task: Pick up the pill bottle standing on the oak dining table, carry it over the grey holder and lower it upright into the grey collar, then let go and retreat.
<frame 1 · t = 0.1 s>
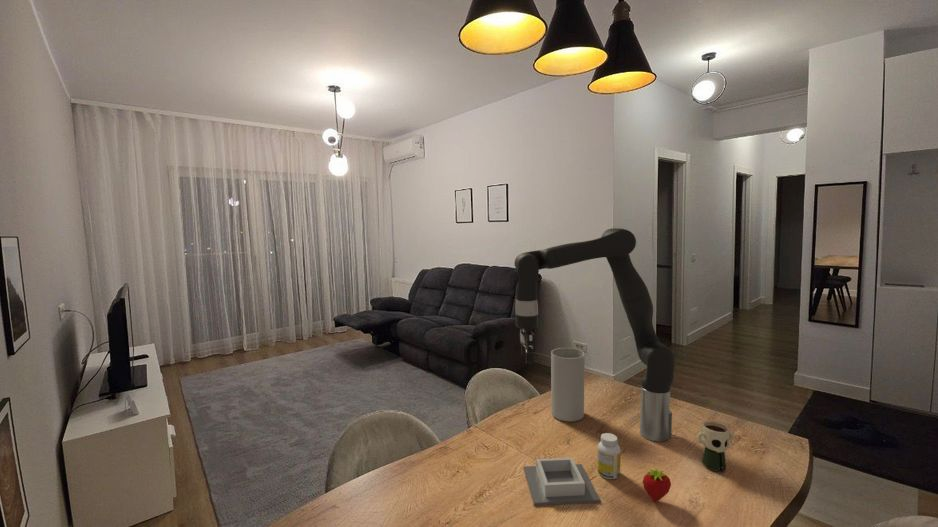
hand: (527, 359, 136), 29 cm above the table, fingers open, 8 cm apart
pill bottle: (608, 474, 120), on the table
strawberry: (656, 502, 108), on the table
character mug: (713, 467, 123), on the table
bottle holder: (559, 484, 116), on the table
cylinder vase: (567, 415, 157), on the table
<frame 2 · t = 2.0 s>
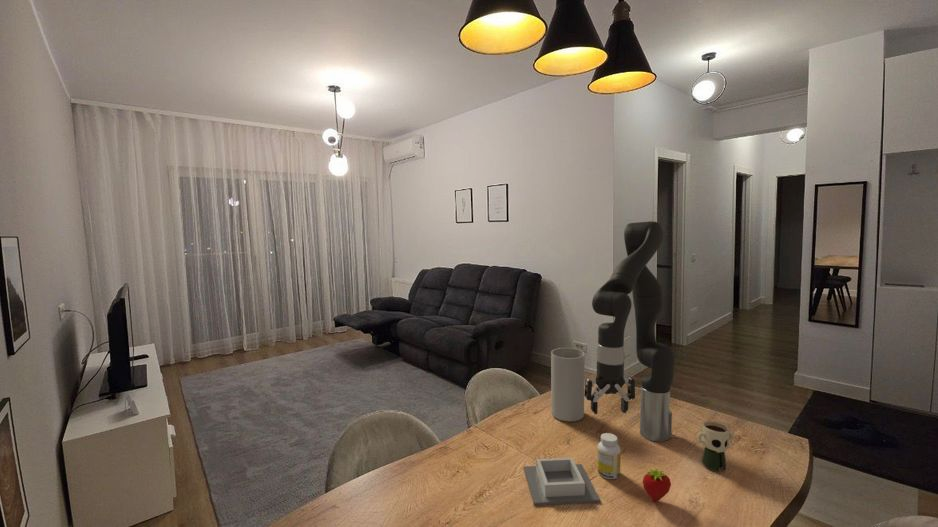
hand: (609, 412, 118), 19 cm above the table, fingers open, 8 cm apart
nothing on the table moved.
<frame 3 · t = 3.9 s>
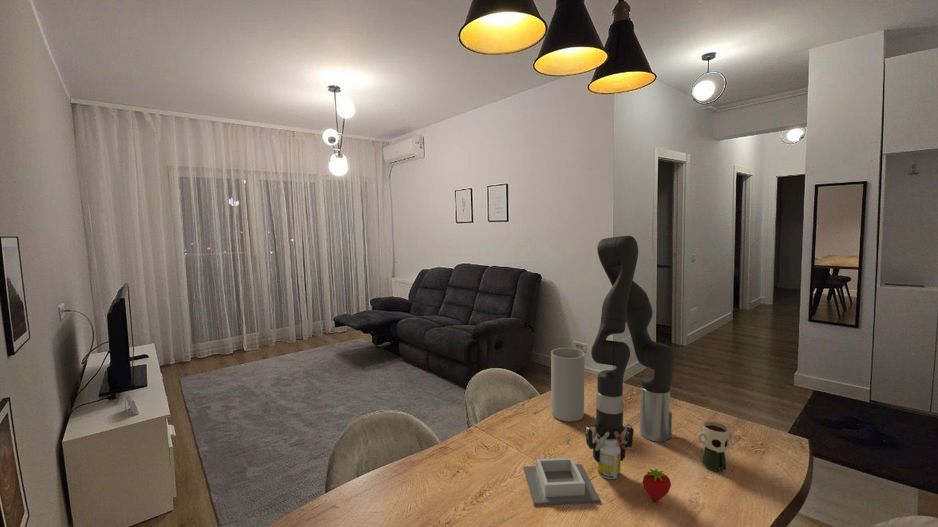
hand: (608, 459, 120), 4 cm above the table, fingers closed on pill bottle, 6 cm apart
pill bottle: (608, 474, 120), on the table, touching gripper
everything else where it was.
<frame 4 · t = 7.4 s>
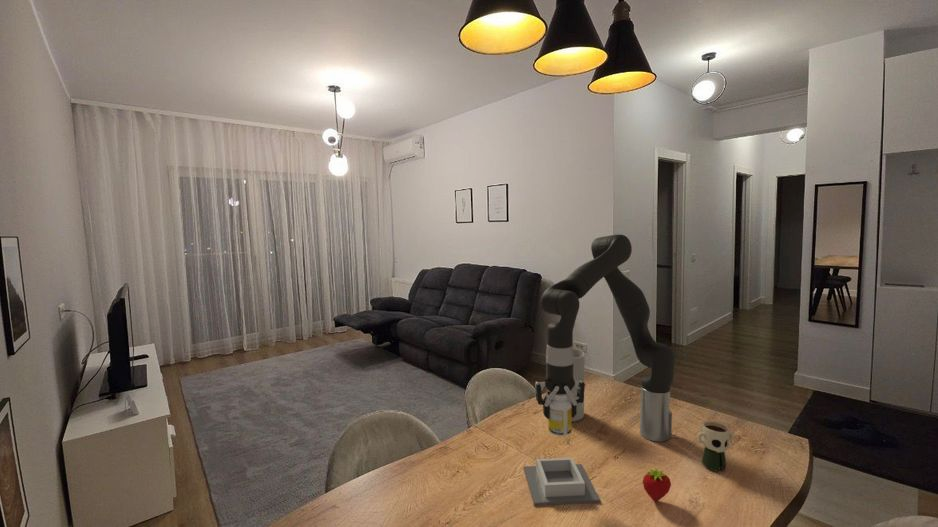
hand: (559, 416, 114), 21 cm above the table, fingers closed on pill bottle, 6 cm apart
pill bottle: (559, 432, 114), point 16 cm above the table, touching gripper
everything else where it was.
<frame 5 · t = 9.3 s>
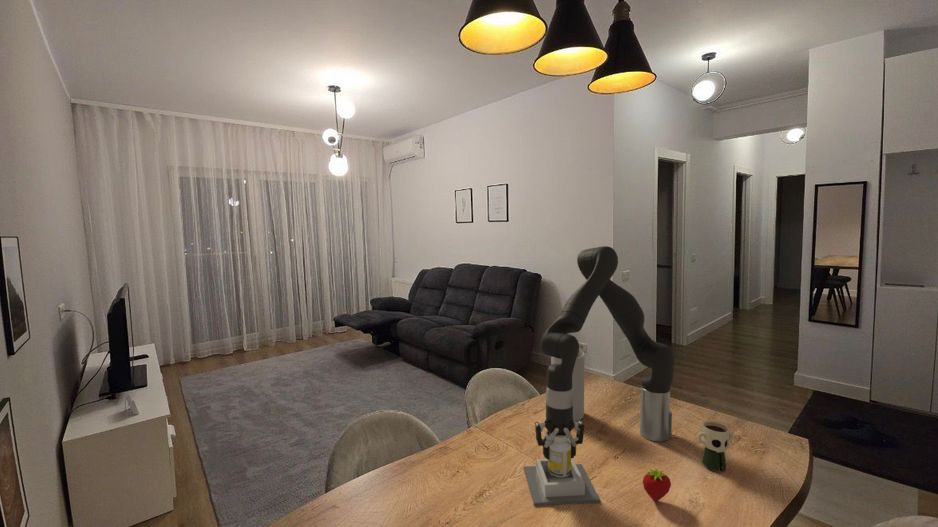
hand: (559, 457, 115), 8 cm above the table, fingers closed on pill bottle, 6 cm apart
pill bottle: (559, 472, 116), point 4 cm above the table, touching gripper
everything else where it was.
when the fingers open (6 cm above the table, at t = 10.9 s): pill bottle stays where it is, resting on bottle holder.
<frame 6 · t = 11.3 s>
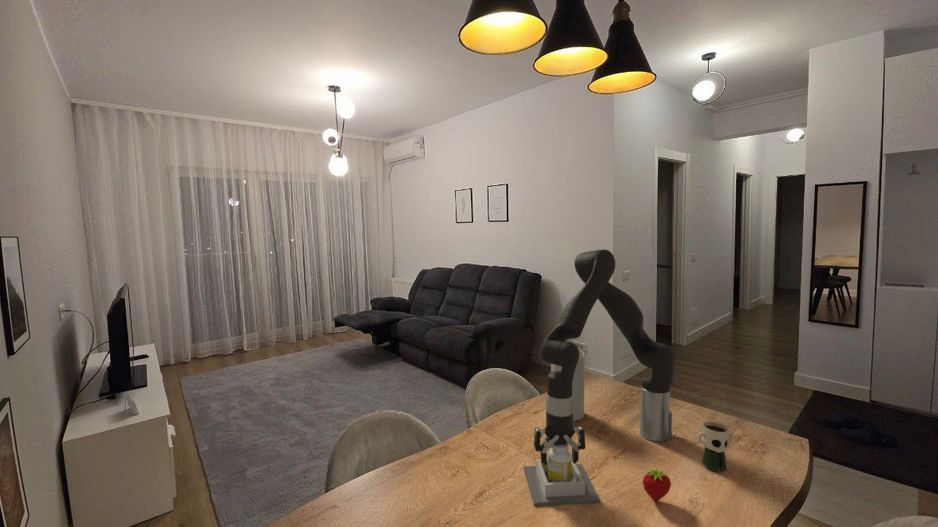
hand: (559, 462, 115), 7 cm above the table, fingers open, 8 cm apart
pill bottle: (559, 482, 116), point 1 cm above the table, touching bottle holder
everything else where it was.
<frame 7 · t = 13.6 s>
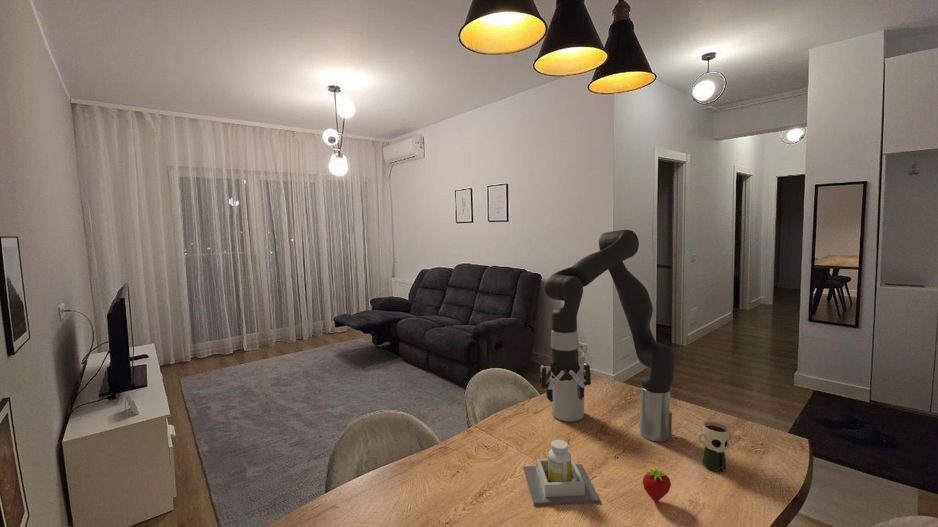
hand: (565, 399, 115), 25 cm above the table, fingers open, 8 cm apart
nothing on the table moved.
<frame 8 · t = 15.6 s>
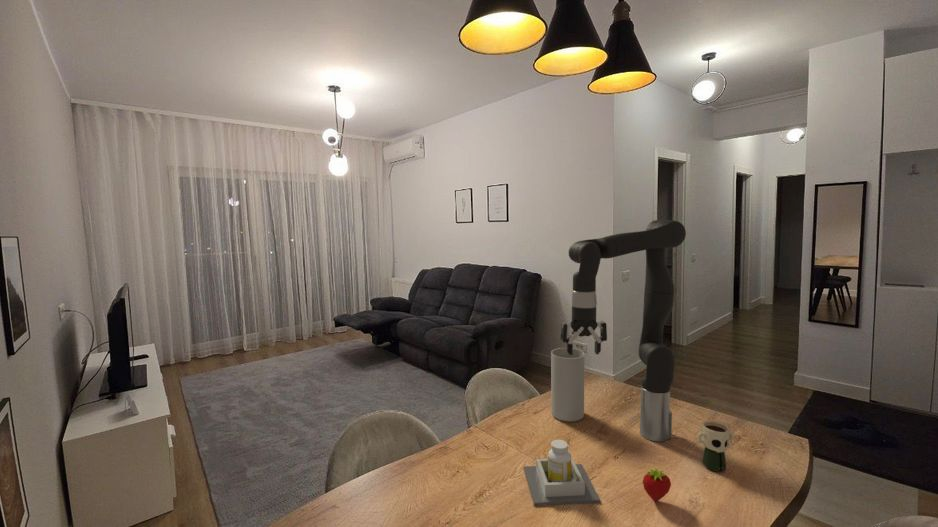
hand: (583, 354, 129), 33 cm above the table, fingers open, 8 cm apart
nothing on the table moved.
at the end: pill bottle 0.1 cm off-centre on the bottle holder, point 0.6 cm above the bottle holder's base; pill bottle tilted 0°; the gripper is holding nothing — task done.
